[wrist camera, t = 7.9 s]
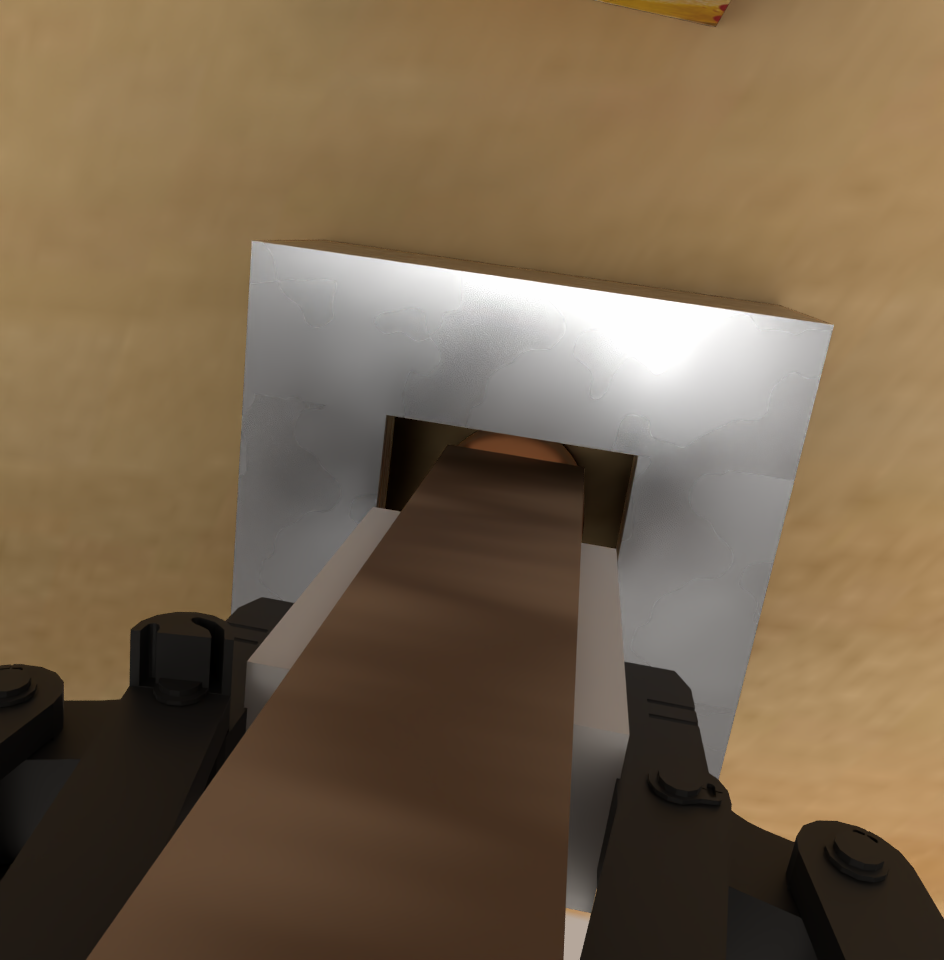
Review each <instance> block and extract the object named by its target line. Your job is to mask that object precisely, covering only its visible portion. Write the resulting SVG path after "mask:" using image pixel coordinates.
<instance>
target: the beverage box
mask: <svg viewBox="0 0 944 960" xmlns="http://www.w3.org/2000/svg"><path fill="white" fill-rule="evenodd" d="M596 1H600V2H605V3H609V4H614V5H618V6H623V7H627V8H632V9H636V10H641V11H646V12H650V13H655V14H659V15H664V16H668V17H673V18H677V19H682V20H686V21H691V22H696V23H700V24H705V25H709V26H714V27H716V25H717V23H718V21H719V20H720V18H721V16H722V15H723V13H724V11H725V10H726V8H727V6H728V4H729V3H730V1H731V0H596Z"/></svg>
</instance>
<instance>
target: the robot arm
mask: <svg viewBox="0 0 944 960" xmlns="http://www.w3.org/2000/svg"><path fill="white" fill-rule="evenodd" d="M399 514H400V511H394V510H388V509H382V508H377V507H372V508H371V510H370V511H369V512H368V513H367V515H366V516H365V517H364V518H363V520H362V521H361V522H360V523H359V524H358V526H357V527H356V528H355V529H354V531H353V532H352V533H351V534H350V535H349V537H348V538H347V539H346V540H345V542H344V543H343V544H342V545H341V547H340V548H339V549H338V550H337V551H336V553H335V554H334V555H333V556H332V558H331V559H330V560H329V561H328V563H327V564H326V565H325V566H324V567H323V569H322V570H321V571H320V572H319V574H318V575H317V576H316V577H315V578H314V580H313V581H312V582H311V583H310V585H309V586H308V587H307V588H306V590H305V591H304V592H303V593H302V594H301V596H300V597H299V598H298V599H297V601H296V602H295V603H292V602H287V601H281V600H276V599H271V598H265V597H261V598H259V599H256V600H254V601H252V602H250V603H247V604H245V605H243V606H241V607H239V608H238V609H237V610H236V611H235V612H234V613H233V614H232V615H231V616H230V617H229V618H228V619H227V620H226V621H224V620H222V619H220V618H217V617H215V616H212V615H207V614H202V613H197V612H174V613H168V614H161V615H156V616H154V617H151V618H148V619H146V620H143V621H141V622H140V623H138V624H137V625H136V626H135V627H133V628H132V629H131V640H130V686H129V688H128V689H127V691H126V692H125V694H124V695H123V697H122V698H121V699H120V700H105V701H64V682H63V680H62V679H61V678H60V677H59V676H58V674H57V673H55V672H53V671H50V670H48V669H45V668H43V667H37V666H29V665H24V664H14V665H12V666H11V665H2V666H0V960H86V959H87V958H88V956H89V955H90V953H91V952H92V950H93V949H94V948H95V946H96V945H97V943H98V942H99V940H100V939H101V938H102V936H103V935H104V933H105V932H106V931H107V929H108V928H109V926H110V925H111V923H112V922H113V921H114V919H115V918H116V916H117V915H118V913H119V912H120V911H121V909H122V908H123V906H124V905H125V904H126V902H127V901H128V899H129V898H130V896H131V895H132V894H133V892H134V891H135V889H136V888H137V886H138V885H139V884H140V882H141V881H142V879H143V878H144V876H145V875H146V874H147V872H148V871H149V869H150V868H151V867H152V865H153V864H154V862H155V861H156V859H157V858H158V857H159V855H160V854H161V852H162V851H163V849H164V848H165V847H166V845H167V844H168V842H169V841H170V840H171V838H172V837H173V835H174V834H175V832H176V831H177V830H178V828H179V827H180V825H181V824H182V822H183V821H184V820H185V818H186V817H187V815H188V814H189V812H190V811H191V810H192V808H193V807H194V805H195V804H196V803H197V801H198V800H199V798H200V797H201V795H202V794H203V793H204V791H205V790H206V788H207V787H208V785H209V784H210V783H211V781H212V780H213V778H214V777H215V776H216V774H217V773H218V771H219V770H220V768H221V767H222V766H223V764H224V763H225V761H226V760H227V758H228V757H229V756H230V754H231V753H232V751H233V750H234V748H235V747H236V746H237V744H238V743H239V741H240V740H241V739H242V737H243V736H244V734H245V733H246V731H247V730H248V729H249V727H250V726H251V724H252V723H253V721H254V720H255V719H256V717H257V716H258V714H259V713H260V712H261V710H262V709H263V707H264V706H265V704H266V703H267V702H268V700H269V699H270V697H271V696H272V694H273V693H274V692H275V690H276V689H277V687H278V686H279V684H280V683H281V682H282V680H283V679H284V677H285V676H286V675H287V673H288V672H289V670H290V669H291V667H292V666H293V665H294V663H295V662H296V660H297V659H298V657H299V656H300V655H301V653H302V652H303V650H304V649H305V648H306V646H307V645H308V643H309V642H310V640H311V639H312V638H313V636H314V635H315V633H316V632H317V630H318V629H319V628H320V626H321V625H322V623H323V622H324V620H325V619H326V618H327V616H328V615H329V613H330V612H331V611H332V609H333V608H334V606H335V605H336V603H337V602H338V601H339V599H340V598H341V596H342V595H343V593H344V592H345V591H346V589H347V588H348V586H349V585H350V583H351V582H352V581H353V579H354V578H355V576H356V575H357V574H358V572H359V571H360V569H361V568H362V566H363V565H364V564H365V562H366V561H367V559H368V558H369V556H370V555H371V554H372V552H373V551H374V549H375V548H376V547H377V545H378V544H379V542H380V541H381V539H382V538H383V537H384V535H385V534H386V532H387V531H388V529H389V528H390V527H391V525H392V524H393V522H394V521H395V519H396V518H397V517H398V515H399ZM731 805H732V804H731V800H730V797H729V793H728V791H727V789H726V788H725V787H724V786H723V785H722V784H721V782H720V781H719V780H718V779H717V778H716V777H714V776H713V775H711V774H710V773H709V770H708V766H707V761H706V756H705V752H704V747H703V742H702V738H701V733H700V728H699V727H698V719H697V714H696V711H695V705H694V700H693V696H692V691H691V689H690V687H689V686H688V685H687V684H686V683H685V682H684V681H683V679H682V678H681V677H680V676H679V675H678V674H677V673H676V672H675V671H673V670H667V669H662V668H657V667H651V666H646V665H640V664H635V663H630V662H624V651H623V637H622V623H621V609H620V595H619V581H618V567H617V552H616V549H614V548H608V547H603V546H597V545H591V544H585V543H581V561H580V584H579V607H578V631H577V654H576V677H575V700H574V724H573V747H572V770H571V793H570V816H569V840H568V863H567V886H566V908H570V909H575V910H579V911H584V912H589V913H591V916H590V921H589V925H588V929H587V933H586V937H585V941H584V945H583V949H582V953H581V957H580V960H944V919H943V917H942V915H941V913H940V912H939V910H938V908H937V907H936V905H935V903H934V902H933V900H932V898H931V897H930V895H929V893H928V892H927V890H926V888H925V887H924V885H923V883H922V881H921V880H920V878H919V876H918V875H917V873H916V871H915V870H914V868H913V867H912V866H911V864H910V863H909V862H908V861H907V860H906V858H905V857H904V856H903V855H902V854H901V853H900V852H899V851H898V850H897V849H895V848H894V847H893V846H891V845H890V844H889V843H887V842H886V841H885V840H883V839H882V838H880V837H879V836H877V835H875V834H873V833H871V832H870V831H869V832H868V831H866V830H865V829H863V828H860V827H857V826H854V825H849V824H846V823H842V822H838V821H815V822H812V823H809V824H806V825H804V826H803V827H802V828H801V830H800V832H799V833H798V835H797V837H796V840H795V842H792V841H790V840H787V839H785V838H783V837H780V836H778V835H775V834H773V833H770V832H768V831H765V830H763V829H761V828H759V827H757V826H755V825H753V824H751V823H749V822H747V821H746V820H744V819H743V818H741V817H740V816H738V815H737V814H735V813H734V812H733V811H732V810H731ZM596 888H597V892H596ZM595 893H596V896H595ZM594 898H595V900H594ZM593 902H594V904H593ZM592 907H593V908H592Z"/></svg>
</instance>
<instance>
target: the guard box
mask: <svg viewBox="0 0 944 960" xmlns="http://www.w3.org/2000/svg"><path fill="white" fill-rule="evenodd" d="M833 326H834V325H833V324H830V323H827V322H824V321H822V320H819V319H816V318H813V317H811V316H808V315H805V314H803V313H800V312H797V311H794V310H792V309H789V308H786V307H784V306H781V305H774V304H767V303H760V302H753V301H746V300H739V299H732V298H725V297H718V296H711V295H704V294H697V293H690V292H684V291H677V290H670V289H663V288H656V287H649V286H642V285H635V284H628V283H621V282H614V281H607V280H600V279H593V278H586V277H579V276H572V275H565V274H558V273H551V272H544V271H537V270H530V269H523V268H516V267H509V266H502V265H495V264H488V263H482V262H475V261H468V260H461V259H454V258H447V257H440V256H433V255H426V254H419V253H412V252H405V251H398V250H391V249H384V248H377V247H370V246H363V245H356V244H349V243H342V242H335V241H328V240H268V241H252V248H251V266H250V284H249V302H248V320H247V338H246V356H245V374H244V391H243V409H242V427H241V445H240V463H239V481H238V499H237V517H236V534H235V552H234V570H233V588H232V606H231V615H232V614H233V613H234V612H235V611H236V610H237V609H238V608H239V607H241V606H243V605H245V604H247V603H250V602H252V601H254V600H256V599H259V598H261V597H265V598H271V599H276V600H281V601H287V602H292V603H295V602H296V601H297V599H298V598H299V597H300V596H301V594H302V593H303V592H304V591H305V590H306V588H307V587H308V586H309V585H310V583H311V582H312V581H313V580H314V578H315V577H316V576H317V575H318V574H319V572H320V571H321V570H322V569H323V567H324V566H325V565H326V564H327V563H328V561H329V560H330V559H331V558H332V556H333V555H334V554H335V553H336V551H337V550H338V549H339V548H340V547H341V545H342V544H343V543H344V542H345V540H346V539H347V538H348V537H349V535H350V534H351V533H352V532H353V531H354V529H355V528H356V527H357V526H358V524H359V523H360V522H361V521H362V520H363V518H364V517H365V516H366V515H367V513H368V512H369V511H370V510H371V508H372V507H377V508H382V509H385V505H386V496H387V487H388V477H389V468H390V459H391V450H392V441H393V432H394V422H395V416H397V417H403V418H409V419H415V420H421V421H428V422H434V423H440V424H446V425H452V426H458V427H465V428H471V429H477V430H483V431H489V432H496V433H502V434H508V435H514V436H520V437H526V438H533V439H539V440H545V441H551V442H557V443H564V444H570V445H576V446H582V447H588V448H594V449H601V450H607V451H613V452H619V453H625V454H632V455H634V459H633V464H632V469H631V474H630V479H629V484H628V489H627V495H626V500H625V505H624V510H623V515H622V520H621V525H620V530H619V536H618V541H617V546H616V552H617V567H618V581H619V595H620V609H621V623H622V637H623V651H624V662H630V663H635V664H640V665H646V666H651V667H657V668H662V669H667V670H673V671H675V672H676V673H677V674H678V675H679V676H680V677H681V678H682V679H683V681H684V682H685V683H686V684H687V685H688V686H689V687H690V689H691V691H692V696H693V700H694V705H695V711H696V714H697V719H698V727H699V728H700V733H701V738H702V742H703V747H704V752H705V756H706V761H707V766H708V770H709V773H710V774H711V775H713V776H714V777H716V778H717V779H719V775H720V771H721V768H722V764H723V760H724V756H725V752H726V748H727V744H728V740H729V736H730V732H731V728H732V724H733V720H734V716H735V712H736V708H737V705H738V701H739V697H740V693H741V689H742V685H743V681H744V677H745V673H746V669H747V665H748V661H749V657H750V653H751V649H752V645H753V641H754V638H755V634H756V630H757V626H758V622H759V618H760V614H761V610H762V606H763V602H764V598H765V594H766V590H767V586H768V582H769V578H770V575H771V571H772V567H773V563H774V559H775V555H776V551H777V547H778V543H779V539H780V535H781V531H782V527H783V523H784V519H785V515H786V511H787V508H788V504H789V500H790V496H791V492H792V488H793V484H794V480H795V476H796V472H797V468H798V464H799V460H800V456H801V452H802V448H803V444H804V441H805V437H806V433H807V429H808V425H809V421H810V417H811V413H812V409H813V405H814V401H815V397H816V393H817V389H818V385H819V381H820V378H821V374H822V370H823V366H824V362H825V358H826V354H827V350H828V346H829V342H830V338H831V334H832V330H833Z"/></svg>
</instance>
